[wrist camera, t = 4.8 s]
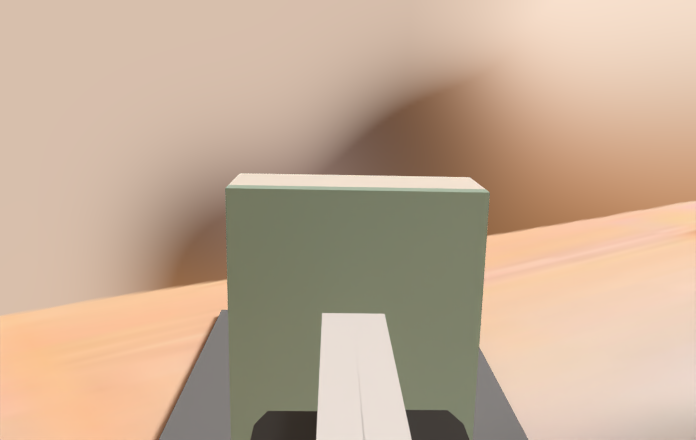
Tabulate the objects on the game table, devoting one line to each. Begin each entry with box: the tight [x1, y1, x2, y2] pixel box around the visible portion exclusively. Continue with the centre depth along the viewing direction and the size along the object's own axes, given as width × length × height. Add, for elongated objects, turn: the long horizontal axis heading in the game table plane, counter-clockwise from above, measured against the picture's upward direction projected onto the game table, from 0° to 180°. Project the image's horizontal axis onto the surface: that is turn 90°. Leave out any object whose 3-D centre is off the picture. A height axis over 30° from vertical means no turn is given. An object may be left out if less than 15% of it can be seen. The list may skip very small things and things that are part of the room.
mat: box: [159, 310, 528, 440], centre depth 31 cm, size 24×16×1 cm, turn 1°
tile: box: [225, 173, 490, 440], centre depth 22 cm, size 3×8×12 cm, turn 91°
